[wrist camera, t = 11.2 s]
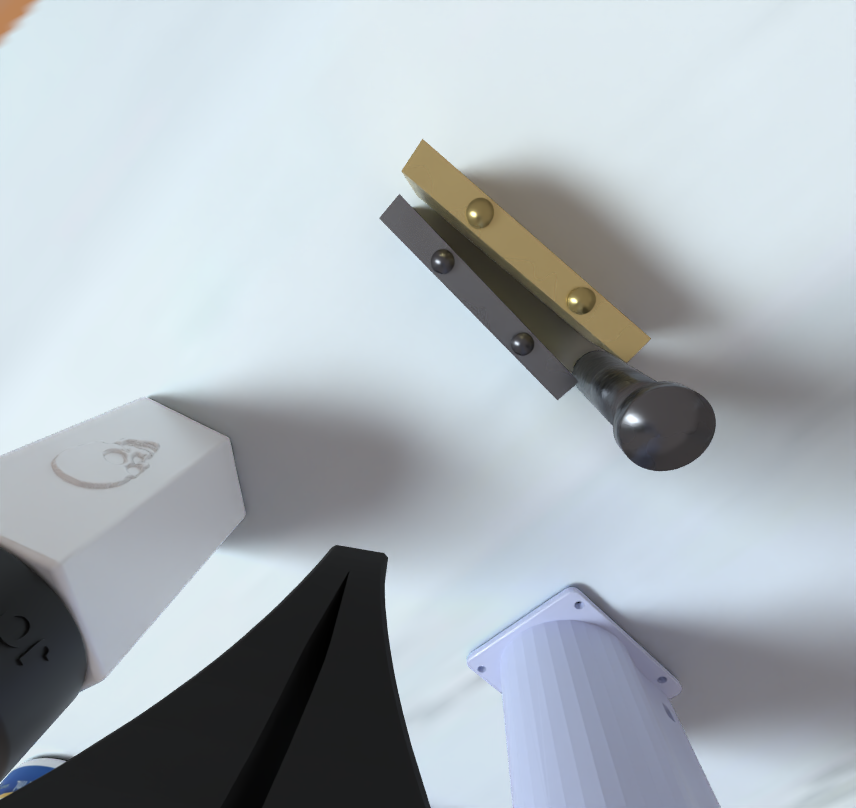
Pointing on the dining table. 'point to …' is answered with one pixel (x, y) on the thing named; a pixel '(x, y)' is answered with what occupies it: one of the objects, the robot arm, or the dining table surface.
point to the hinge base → (593, 373)
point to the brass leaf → (520, 253)
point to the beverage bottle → (27, 774)
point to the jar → (99, 550)
